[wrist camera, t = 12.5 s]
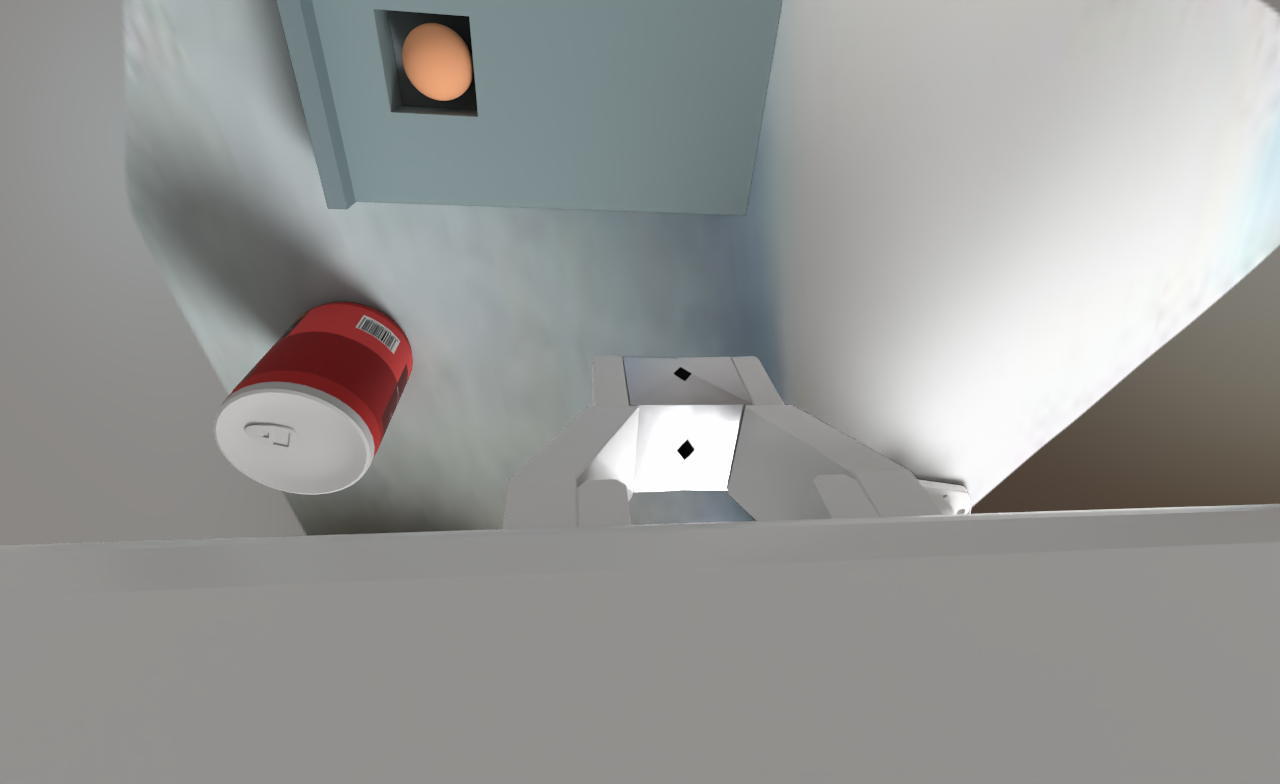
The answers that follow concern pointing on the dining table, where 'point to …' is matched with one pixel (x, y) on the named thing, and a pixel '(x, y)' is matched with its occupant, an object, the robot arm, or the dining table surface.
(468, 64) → the ball
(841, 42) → the dining table surface
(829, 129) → the dining table surface
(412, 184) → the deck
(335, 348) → the canned food
